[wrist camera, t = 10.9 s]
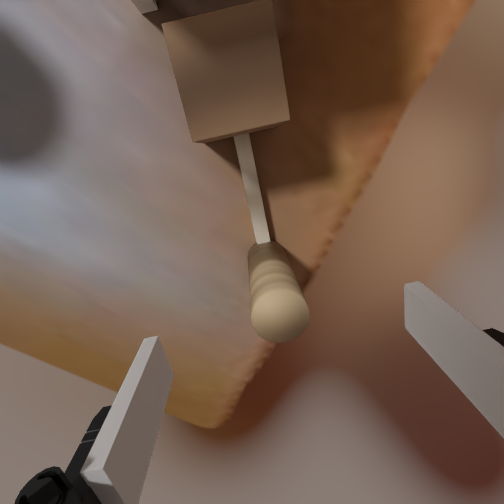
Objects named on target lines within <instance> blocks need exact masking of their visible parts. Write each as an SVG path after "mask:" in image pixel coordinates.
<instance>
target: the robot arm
mask: <svg viewBox="0 0 504 504" xmlns="http://www.w3.org/2000/svg"><path fill="white" fill-rule="evenodd" d="M404 306H405V328H406V329H407V330H408V332H409V333H410V334H411V335H412V336H413V337H414V338H415V339H416V341H417V342H418V343H419V344H420V345H421V346H422V347H423V348H424V350H425V351H426V352H427V353H428V354H429V355H430V356H431V357H432V358H433V360H434V361H435V362H436V363H437V364H438V365H439V366H440V368H441V369H442V370H443V371H444V372H445V373H446V374H447V375H448V377H449V378H450V379H451V380H452V381H453V382H454V383H455V384H456V386H457V387H458V388H459V389H460V390H461V391H462V392H463V393H464V394H465V396H466V397H467V398H468V399H469V400H470V401H471V402H472V404H473V405H474V406H475V407H476V408H477V409H478V410H479V411H480V412H481V414H482V415H483V416H484V417H485V418H486V419H487V420H488V422H489V423H490V424H491V425H492V426H493V427H494V428H495V429H496V431H497V432H498V433H499V434H500V435H501V436H502V437H503V438H504V333H502V332H500V331H498V330H495V329H493V328H491V329H486V330H481V329H480V328H479V327H477V326H476V325H475V324H473V323H472V322H471V321H470V320H468V319H467V318H466V317H464V316H463V315H462V314H461V313H459V312H458V311H457V310H455V309H454V308H453V307H452V306H450V305H449V304H448V303H446V302H445V301H444V300H443V299H441V298H440V297H439V296H437V295H436V294H435V293H434V292H432V291H431V290H430V289H428V288H427V287H426V286H425V285H423V284H422V283H421V282H419V281H416V282H412V283H407V284H404ZM173 377H174V373H173V371H172V368H171V366H170V363H169V361H168V358H167V356H166V354H165V351H164V349H163V346H162V344H161V341H160V339H159V337H158V336H154V337H149V338H145V339H144V340H143V342H142V344H141V346H140V348H139V351H138V353H137V355H136V357H135V359H134V361H133V363H132V365H131V367H130V369H129V371H128V373H127V376H126V378H125V380H124V382H123V384H122V386H121V388H120V390H119V392H118V394H117V396H116V399H115V401H114V403H113V405H112V406H107V407H103V408H102V409H101V410H100V412H99V413H98V414H97V415H96V416H95V417H94V418H93V420H92V422H91V424H90V426H89V428H88V430H87V433H86V434H85V435H84V437H83V439H82V441H81V444H80V445H79V447H78V449H77V451H76V452H75V454H74V456H73V458H72V460H71V462H70V464H69V466H68V467H67V469H66V471H65V473H63V471H62V470H61V469H60V467H50V468H47V469H45V470H43V471H41V472H40V473H38V474H37V475H35V476H34V477H33V478H32V479H31V480H30V481H29V482H28V483H27V484H26V485H25V486H24V487H23V489H22V490H21V491H20V493H19V495H18V496H17V498H16V500H15V504H138V503H139V499H140V496H141V492H142V489H143V485H144V481H145V478H146V474H147V470H148V467H149V463H150V460H151V456H152V453H153V449H154V445H155V442H156V438H157V435H158V431H159V427H160V424H161V420H162V417H163V413H164V410H165V406H166V402H167V399H168V395H169V392H170V388H171V384H172V381H173Z"/></svg>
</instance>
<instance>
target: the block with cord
mask: <svg viewBox="0 0 504 504" xmlns="http://www.w3.org/2000/svg"><path fill="white" fill-rule="evenodd" d="M161 25H162V29H163V32H164V36H165V40H166V44H167V47H168V51H169V55H170V59H171V62H172V66H173V70H174V74H175V78H176V81H177V85H178V89H179V93H180V96H181V100H182V104H183V108H184V111H185V115H186V119H187V123H188V126H189V130H190V134H191V138H192V142H197V143H209V142H213V141H217V140H222V139H226V138H231V137H234V141H235V145H236V150H237V155H238V159H239V164H240V168H241V173H242V178H243V182H244V187H245V191H246V196H247V201H248V205H249V210H250V214H251V219H252V223H253V228H254V233H255V237H256V242H257V243H256V244H254V245H253V246H252V248H251V249H250V251H249V253H248V269H249V286H250V302H251V319H252V325H253V328H254V330H255V331H256V333H257V334H258V335H259V336H260V337H262V338H263V339H265V340H267V341H270V342H275V343H283V342H288V341H291V340H294V339H295V338H297V337H299V336H300V335H301V334H302V333H303V332H304V331H305V329H306V328H307V326H308V324H309V320H310V312H309V308H308V306H307V304H306V301H305V299H304V296H303V294H302V292H301V289H300V287H299V284H298V282H297V280H296V277H295V275H294V272H293V270H292V268H291V265H290V263H289V261H288V258H287V256H286V253H285V251H284V249H283V247H282V246H281V245H280V244H279V243H277V242H275V241H273V240H270V237H269V232H268V227H267V222H266V217H265V212H264V207H263V202H262V197H261V192H260V187H259V182H258V177H257V172H256V167H255V162H254V157H253V152H252V147H251V142H250V137H249V133H252V132H257V131H261V130H266V129H270V128H274V127H278V126H280V125H282V124H284V123H285V122H287V121H289V120H290V114H289V108H288V101H287V94H286V88H285V81H284V74H283V68H282V61H281V55H280V48H279V41H278V35H277V28H276V21H275V15H274V8H273V1H272V0H256V1H252V2H248V3H244V4H240V5H236V6H232V7H228V8H223V9H219V10H215V11H211V12H207V13H203V14H199V15H195V16H191V17H187V18H183V19H179V20H175V21H171V22H167V23H163V24H161Z"/></svg>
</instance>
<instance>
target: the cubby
mask: <svg viewBox="0 0 504 504" xmlns="http://www.w3.org/2000/svg"><path fill="white" fill-rule="evenodd" d="M132 2H133V3H134V5H135V6H136V7H137V9H138V10H139V11H140V13H141V14H144V13H148V12H152V11H156V10H158V7H157V3H156V0H132Z"/></svg>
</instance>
